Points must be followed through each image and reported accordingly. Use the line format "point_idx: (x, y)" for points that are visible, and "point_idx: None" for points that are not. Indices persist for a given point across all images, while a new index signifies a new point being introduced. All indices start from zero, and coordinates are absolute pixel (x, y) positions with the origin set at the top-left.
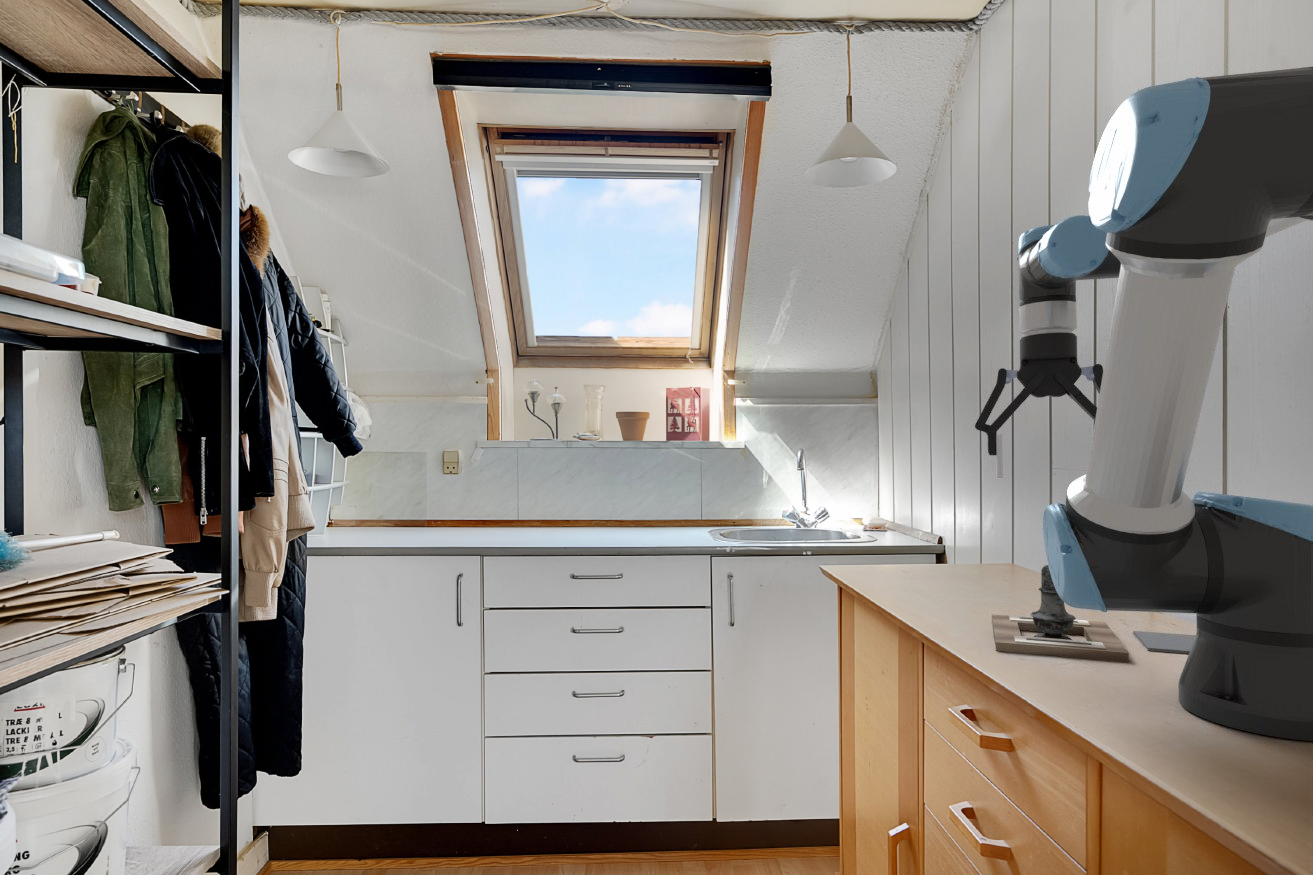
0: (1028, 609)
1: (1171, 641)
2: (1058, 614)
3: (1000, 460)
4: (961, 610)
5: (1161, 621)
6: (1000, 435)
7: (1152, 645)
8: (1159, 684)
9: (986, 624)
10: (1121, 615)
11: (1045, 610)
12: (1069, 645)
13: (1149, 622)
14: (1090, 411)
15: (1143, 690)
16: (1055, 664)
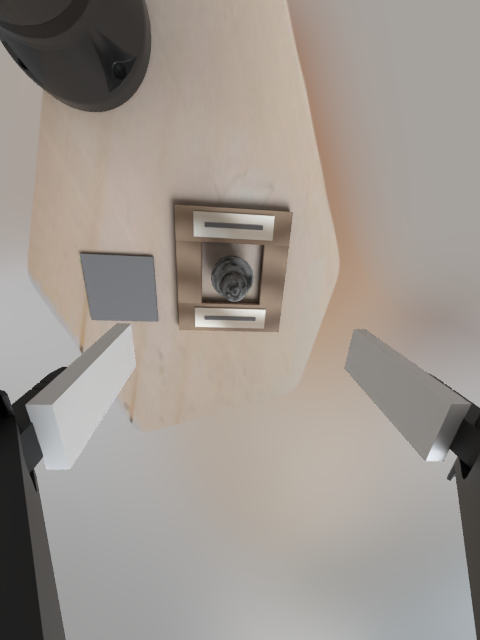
0: (236, 387)
1: (129, 288)
2: (229, 265)
3: (385, 350)
4: (297, 366)
5: None
6: (453, 401)
7: (147, 267)
8: (159, 121)
9: (283, 317)
10: (159, 386)
11: (241, 270)
12: (225, 213)
13: (139, 367)
14: (11, 527)
15: (177, 91)
16: (243, 173)
